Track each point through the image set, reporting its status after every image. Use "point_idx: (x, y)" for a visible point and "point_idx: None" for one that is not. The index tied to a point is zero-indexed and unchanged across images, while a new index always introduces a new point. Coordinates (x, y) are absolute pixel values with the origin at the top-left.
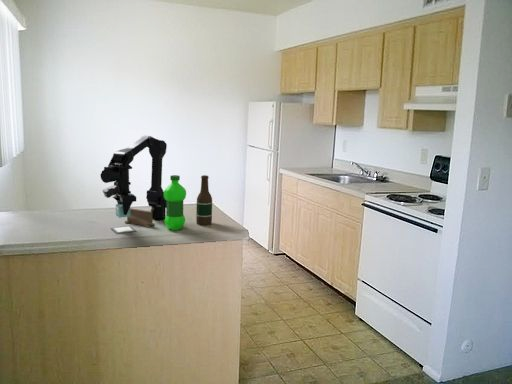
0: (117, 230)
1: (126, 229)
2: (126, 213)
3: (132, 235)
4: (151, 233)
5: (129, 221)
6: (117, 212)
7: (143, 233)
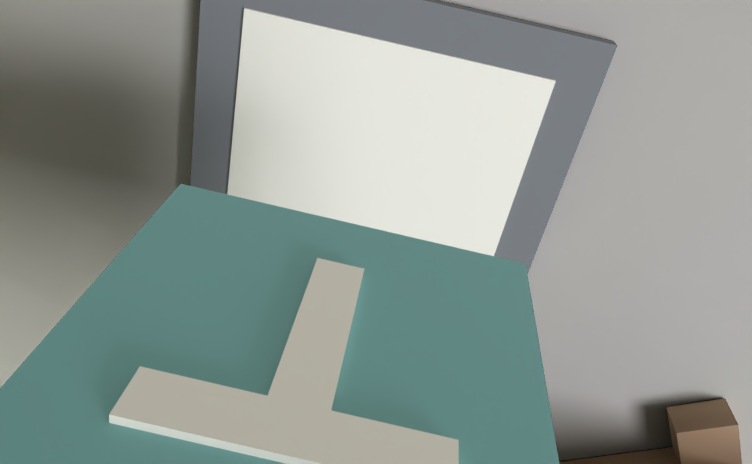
0: (362, 60)
1: (325, 213)
2: None
3: (10, 124)
4: (7, 356)
5: (679, 462)
6: (316, 292)
7: (49, 291)
